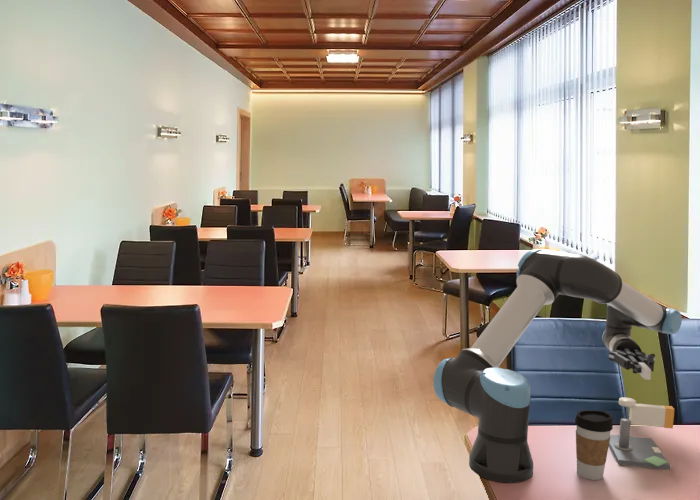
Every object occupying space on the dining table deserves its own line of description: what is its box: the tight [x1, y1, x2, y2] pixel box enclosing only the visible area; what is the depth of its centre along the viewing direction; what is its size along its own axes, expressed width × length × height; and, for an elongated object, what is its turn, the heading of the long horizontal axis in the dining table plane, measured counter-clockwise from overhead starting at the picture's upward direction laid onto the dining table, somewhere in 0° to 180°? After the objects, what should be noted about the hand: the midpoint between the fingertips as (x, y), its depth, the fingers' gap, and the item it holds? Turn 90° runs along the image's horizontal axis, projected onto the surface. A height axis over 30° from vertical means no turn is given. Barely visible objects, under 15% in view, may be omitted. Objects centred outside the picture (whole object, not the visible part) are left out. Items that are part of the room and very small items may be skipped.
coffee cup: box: [574, 409, 614, 481], centre depth 147 cm, size 8×8×15 cm
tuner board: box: [608, 433, 671, 471], centre depth 159 cm, size 12×18×2 cm
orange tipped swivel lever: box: [618, 396, 675, 448], centre depth 159 cm, size 13×4×12 cm, turn 79°
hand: (647, 374), depth 165 cm, fingers closed
